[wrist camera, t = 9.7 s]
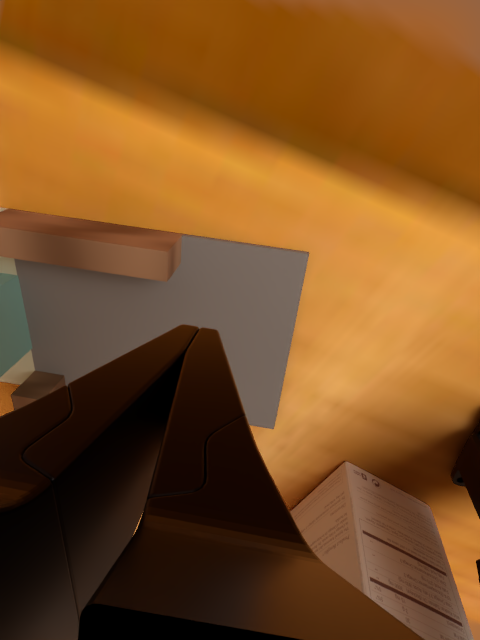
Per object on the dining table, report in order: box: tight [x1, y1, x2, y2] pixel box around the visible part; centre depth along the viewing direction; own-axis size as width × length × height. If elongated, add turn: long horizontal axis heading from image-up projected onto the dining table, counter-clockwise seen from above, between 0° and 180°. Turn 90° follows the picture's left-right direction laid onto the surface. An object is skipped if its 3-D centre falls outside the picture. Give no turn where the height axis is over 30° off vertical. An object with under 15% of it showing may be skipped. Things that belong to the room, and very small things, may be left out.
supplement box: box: [290, 461, 474, 640], centre depth 23 cm, size 7×7×13 cm
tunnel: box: [0, 209, 183, 410], centre depth 23 cm, size 10×16×3 cm, turn 175°
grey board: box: [0, 208, 309, 429], centre depth 24 cm, size 20×12×1 cm, turn 85°
